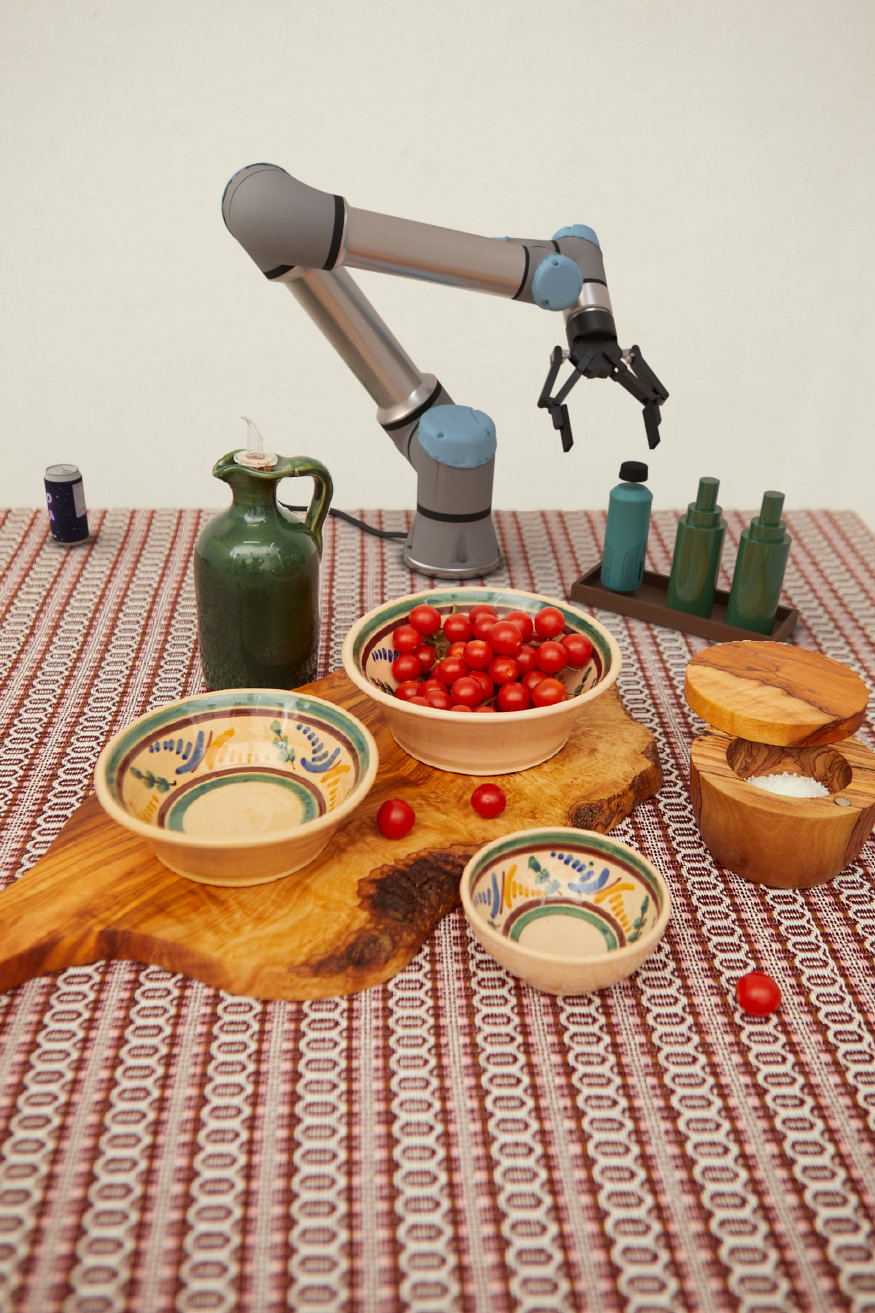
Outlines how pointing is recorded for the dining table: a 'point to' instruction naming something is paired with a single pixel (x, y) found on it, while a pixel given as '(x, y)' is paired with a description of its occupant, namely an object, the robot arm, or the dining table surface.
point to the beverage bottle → (627, 529)
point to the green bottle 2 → (760, 569)
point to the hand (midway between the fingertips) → (612, 446)
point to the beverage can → (66, 504)
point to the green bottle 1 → (698, 553)
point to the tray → (652, 609)
